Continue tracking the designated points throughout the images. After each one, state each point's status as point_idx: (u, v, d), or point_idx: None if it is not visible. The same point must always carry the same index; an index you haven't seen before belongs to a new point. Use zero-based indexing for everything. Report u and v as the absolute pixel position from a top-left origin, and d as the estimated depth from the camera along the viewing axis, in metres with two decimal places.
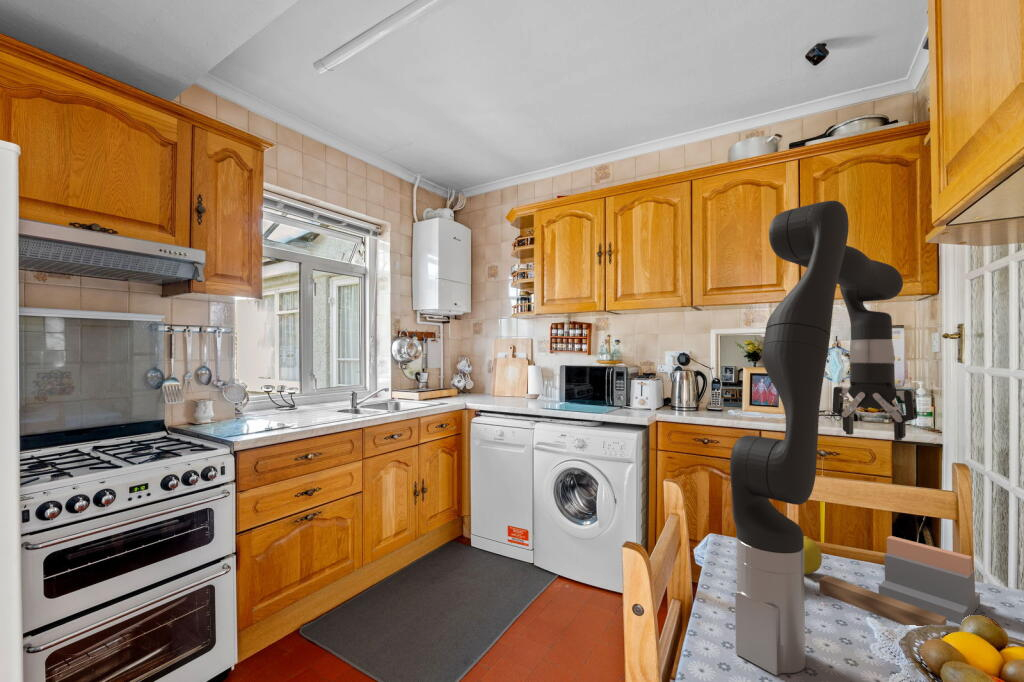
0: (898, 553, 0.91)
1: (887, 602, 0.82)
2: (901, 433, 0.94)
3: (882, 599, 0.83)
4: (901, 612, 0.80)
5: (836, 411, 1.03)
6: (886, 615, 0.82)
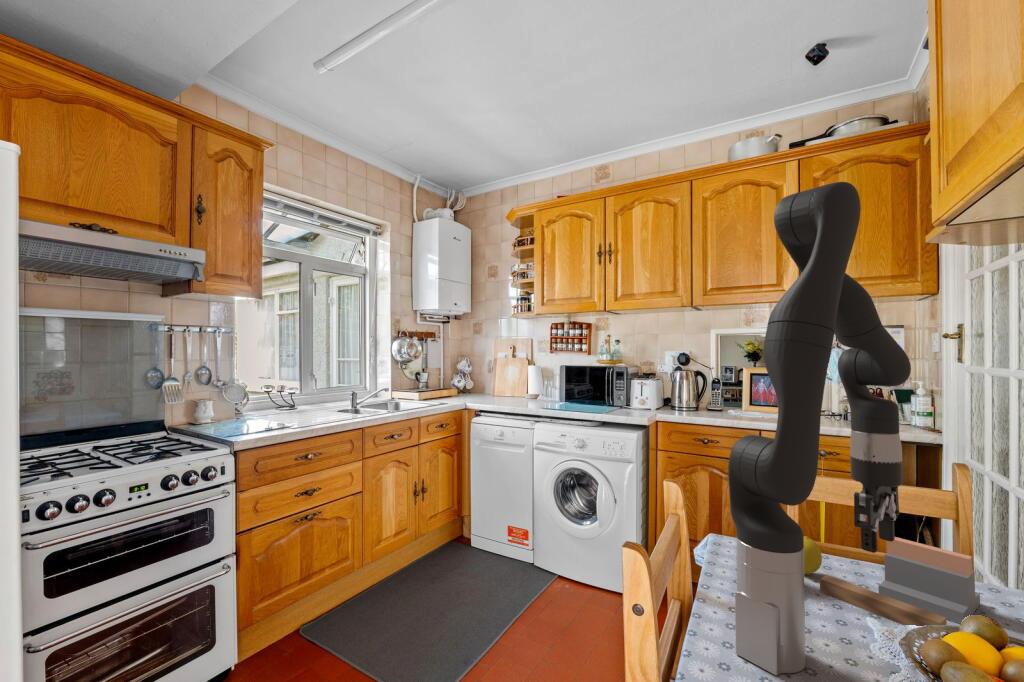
0: (898, 553, 0.91)
1: (887, 602, 0.82)
2: None
3: (882, 599, 0.83)
4: (901, 612, 0.80)
5: (872, 527, 0.80)
6: (886, 615, 0.82)
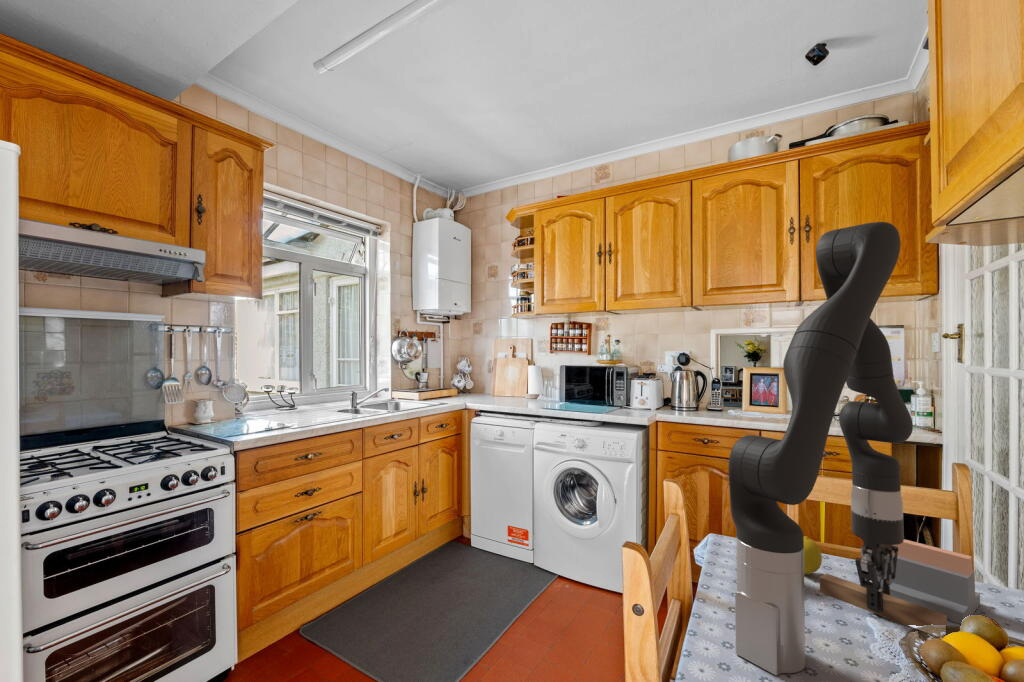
0: (898, 553, 0.91)
1: (887, 600, 0.82)
2: None
3: None
4: (901, 610, 0.80)
5: (878, 588, 0.81)
6: (886, 613, 0.82)
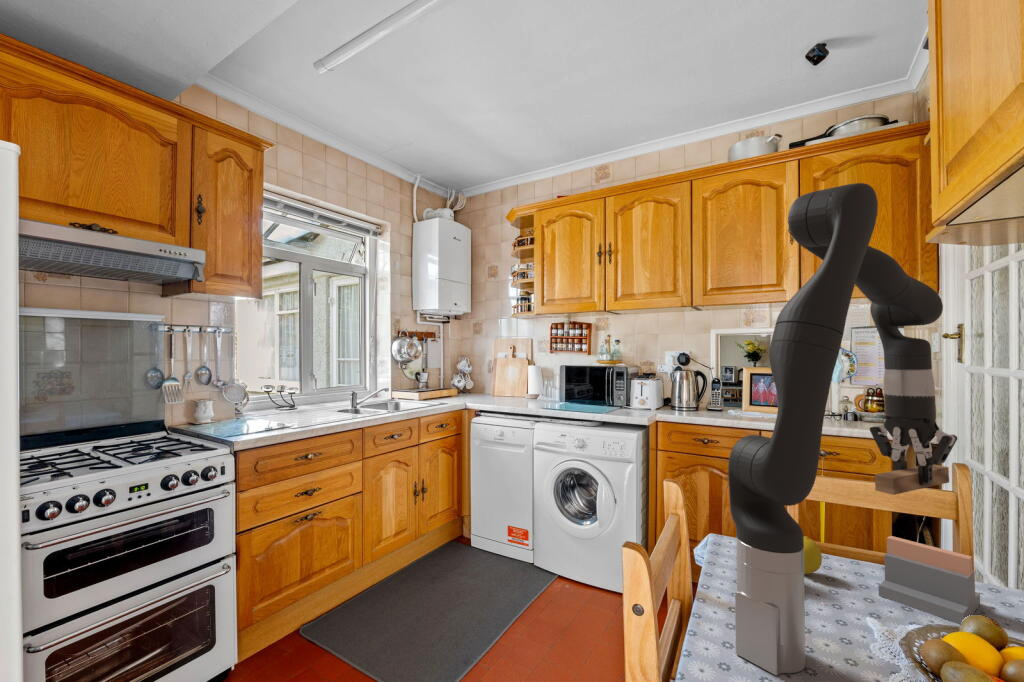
0: (898, 553, 0.91)
1: None
2: None
3: (916, 470, 0.89)
4: (933, 473, 0.89)
5: None
6: None
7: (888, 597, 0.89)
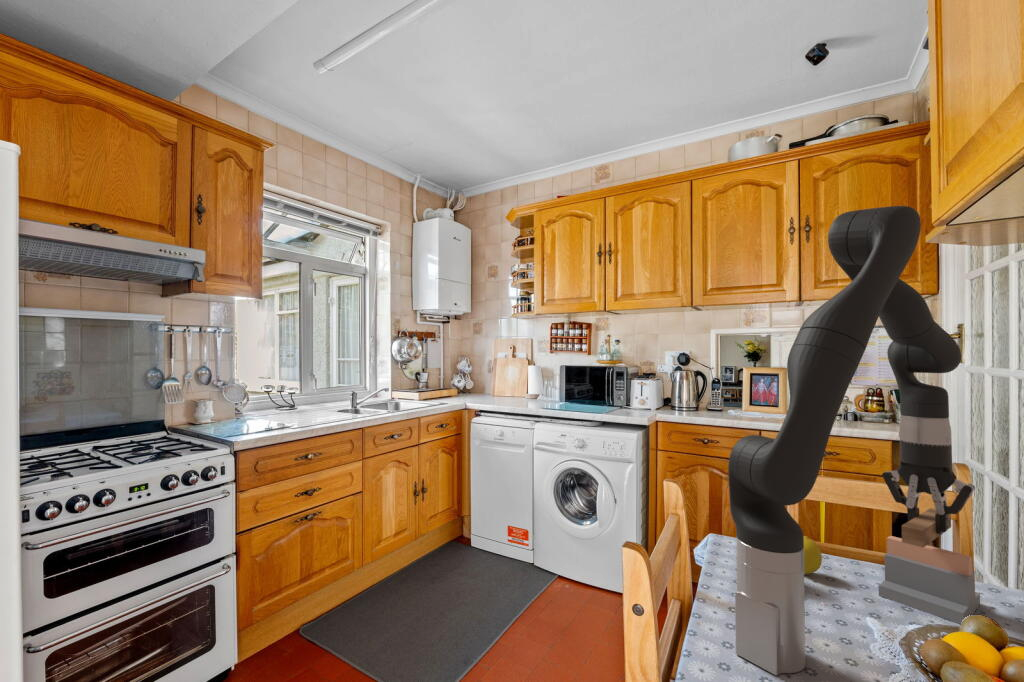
0: (898, 553, 0.91)
1: None
2: None
3: (930, 518, 0.89)
4: None
5: None
6: None
7: (888, 597, 0.89)
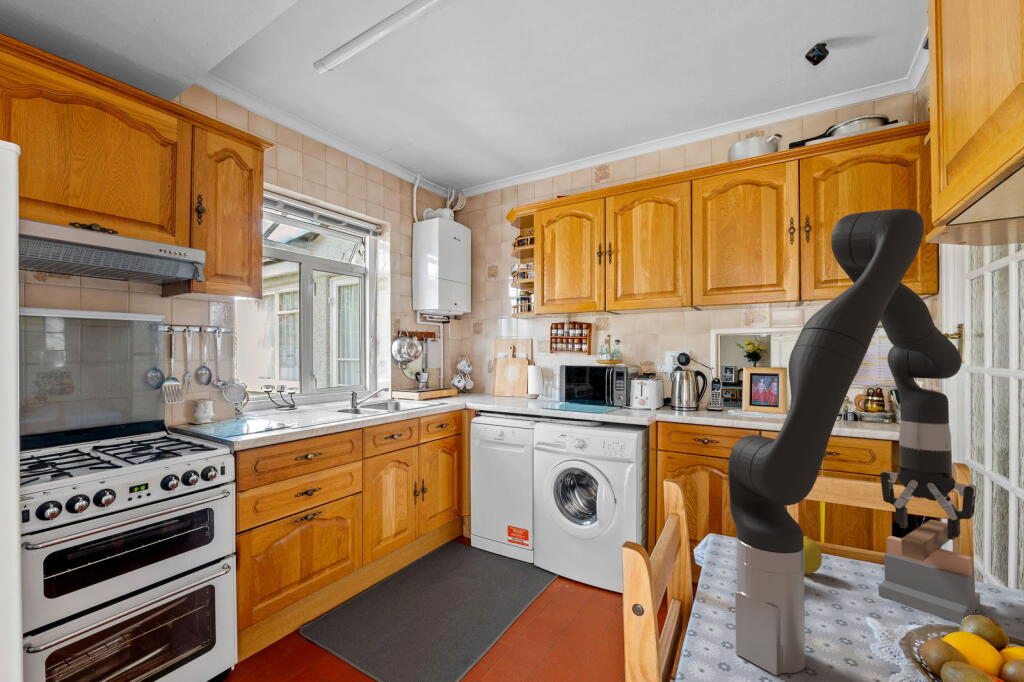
0: (898, 553, 0.91)
1: (937, 530, 0.89)
2: None
3: (930, 530, 0.89)
4: (943, 532, 0.90)
5: None
6: (940, 542, 0.89)
7: (888, 597, 0.89)
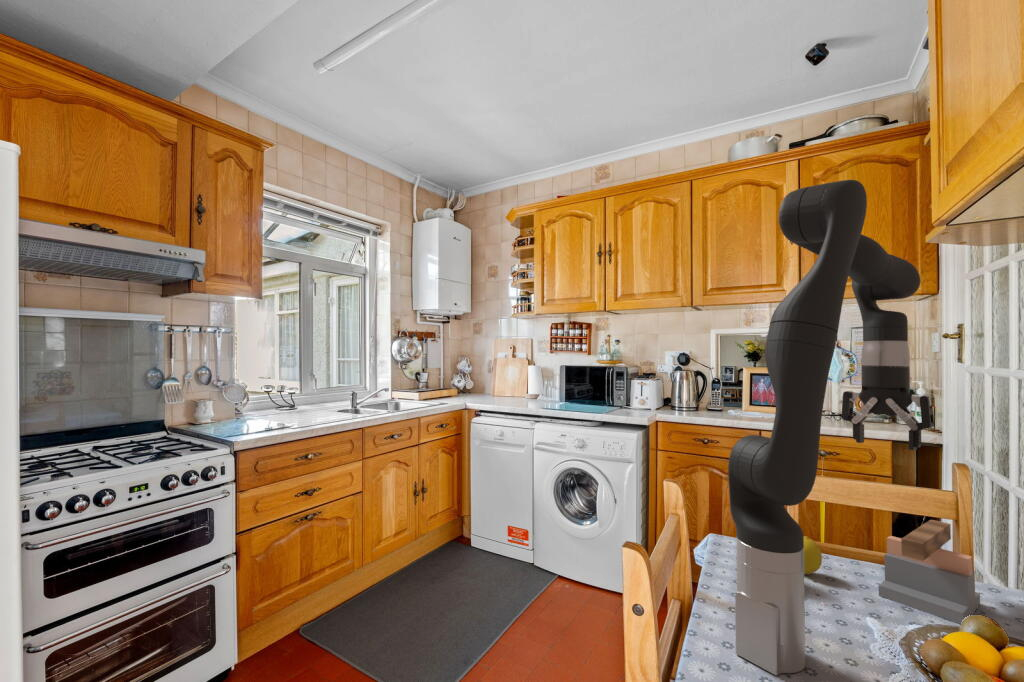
0: (898, 553, 0.91)
1: (937, 530, 0.89)
2: None
3: (930, 530, 0.89)
4: (943, 532, 0.90)
5: None
6: (940, 542, 0.89)
7: (888, 597, 0.89)
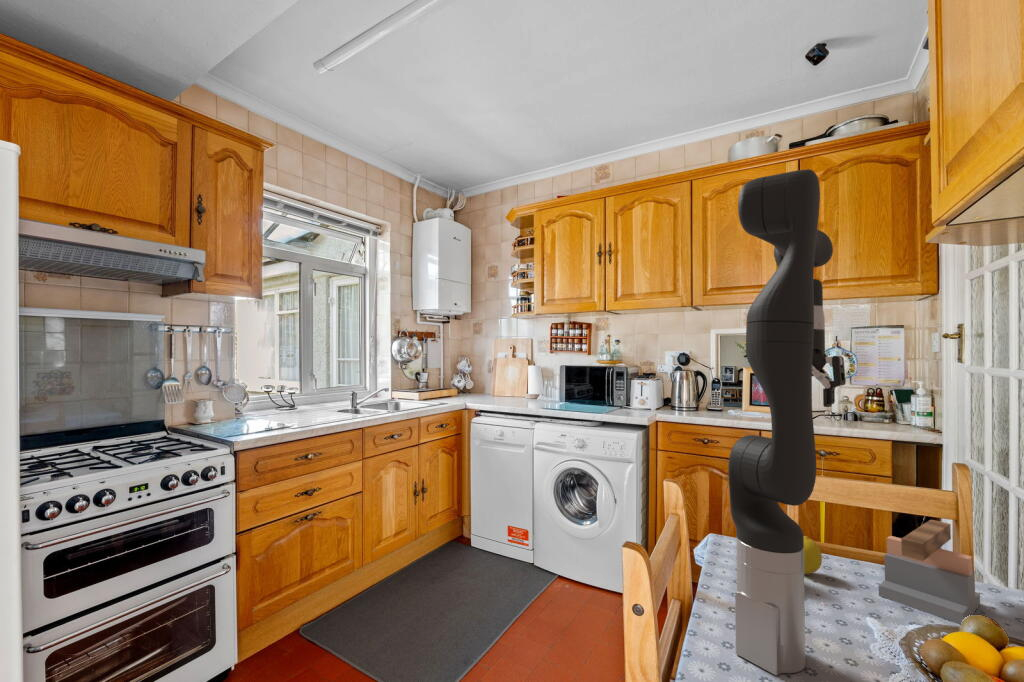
0: (898, 553, 0.91)
1: (937, 530, 0.89)
2: None
3: (930, 530, 0.89)
4: (943, 532, 0.90)
5: None
6: (940, 542, 0.89)
7: (888, 597, 0.89)
